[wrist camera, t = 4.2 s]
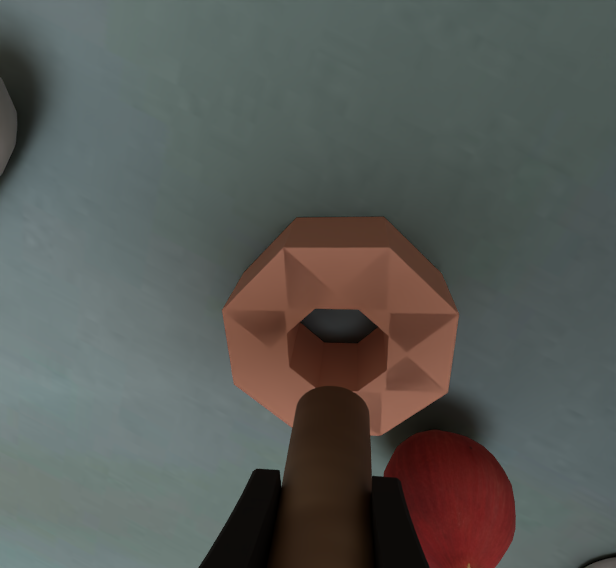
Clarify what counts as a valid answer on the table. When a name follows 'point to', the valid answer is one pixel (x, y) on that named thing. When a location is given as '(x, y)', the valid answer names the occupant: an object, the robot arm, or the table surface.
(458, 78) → the table surface
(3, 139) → the donut
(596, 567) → the pill bottle
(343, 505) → the case
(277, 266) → the orange octagonal ring
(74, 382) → the table surface
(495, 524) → the onion
